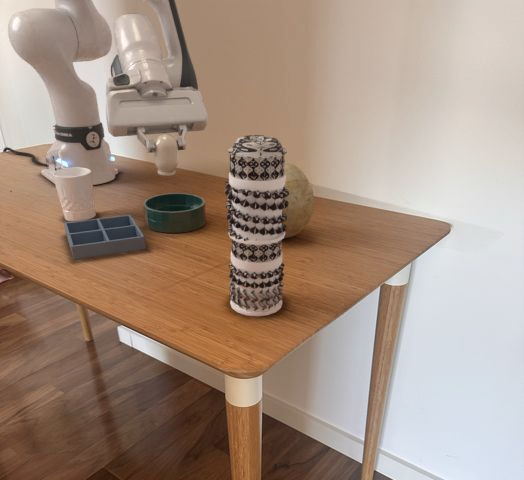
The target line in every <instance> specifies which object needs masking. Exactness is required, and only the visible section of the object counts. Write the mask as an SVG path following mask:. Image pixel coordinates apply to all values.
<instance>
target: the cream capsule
mask: <svg viewBox="0 0 524 480" xmlns="http://www.w3.org/2000/svg"><path fill="white" fill-rule="evenodd" d="M153 141H154V145H155V152H153V161H154V165H155V167H156V168H157V174H158V175H159V176H164V177H165V176H166V177H167V176H168V177H170V176H171V177H172V176H174V175H176V169H177V168H178V165H179V150H178V143H177V138H175V137H174V136H173V135H172V134H170V133H161V134H158V136H156V137H155V139H154V140H153Z"/></svg>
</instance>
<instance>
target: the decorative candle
mask: <svg viewBox="0 0 524 480" xmlns="http://www.w3.org/2000/svg"><path fill="white" fill-rule="evenodd" d="M227 152H228V154H229V173H228V179H226V181H225V182H224V184H225V189H224V194H225V195H226V198H227V200H226V205H225V209H227V213H226V214H225V218H226V219H227V222H228V228H227V232H228V236H229V238H230V239H231V251H230V261H229V264H228V268H229V271H230V273H228V277H229V278H230V282H229V283H228V288H229V289H230V290H229V291H230V292H229V293H228V295H229V298H230V302H229V304H230V306H231V309H232V310H233V311H235V312H236V313H238V314H241V315H244V316H249V317H264V316H269V315H272V314H275V313H277V312H278V311H280V309H282V306H283V296H284V292H283V290H284V288H283V287H284V286H285V284H284V283H283V282H282V281H283V280H284V276H285V273H284V268H285V263H284V262H283V253H284V252H283V250H282V247H283V246H282V245H283V241H282V240H283V239H285V238H284V236H285V231H286V228H287V226H286V225H284V224H283V222H284V221H286V220H287V215H286V214H284V213H283V211H282V209H284V208H286V207H288V204H289V202H288V201H287V200H285V199H283V198H285V197H287V196H288V195H289V191H288V190H287V189H286V188H285V187H284V185H285V178H286V174H285V173H284V166H285V162H286V160H285V156H286V154H287V153H288V150H287V148H285V147H283V145H282V143H281V141H280V140H278V138H276V137H274V136H270V135H264V134H250V135H243V136H239V137H238V138H237V139H236V141H234V144H233V145H232V147H230V148H228V149H227ZM283 187H284V188H283Z"/></svg>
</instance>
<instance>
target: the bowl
mask: <svg viewBox="0 0 524 480" xmlns="http://www.w3.org/2000/svg"><path fill="white" fill-rule="evenodd" d="M206 212H207V210H206V201H205V199H204V198H202V196H199V195H197V194H191V193H185V192H184V193H183V192H169V193H163V194H157V195H153V196H151V197H148V198H146V199H145V200H144V201H143V213H144V221H145V226H146V227H147V228H148V229H149V230H152V231H154V232H159V233H163V234H180V233H183V234H184V233H189V232H193V231H196V230H199V229H201V228H202V227H204V226H205V225H206V223H207V213H206Z"/></svg>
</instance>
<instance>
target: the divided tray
mask: <svg viewBox="0 0 524 480" xmlns="http://www.w3.org/2000/svg"><path fill="white" fill-rule="evenodd" d="M63 226H64V230H65V236H66V239H67V242H68V245H69V249H70V253H71V255H72V258H73V261H75V260H81V259H88V258H95V257H102V256H108V255H115V254H116V255H117V254H123V253H129V252H135V251H136V252H137V251H141V250H142V251H143V250H146V249H147V246H146V239H145V235H144V234H143V232H142V230H141V229H140V227H139V225H138V224H137V222H136V221H135V220H134V218H133V216H132V215H131V214H125V215H123V214H122V215H115V216H108V217H107V216H106V217H101V218H100V217H99V218H90V219H87V220H81V221H67V222H63Z"/></svg>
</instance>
